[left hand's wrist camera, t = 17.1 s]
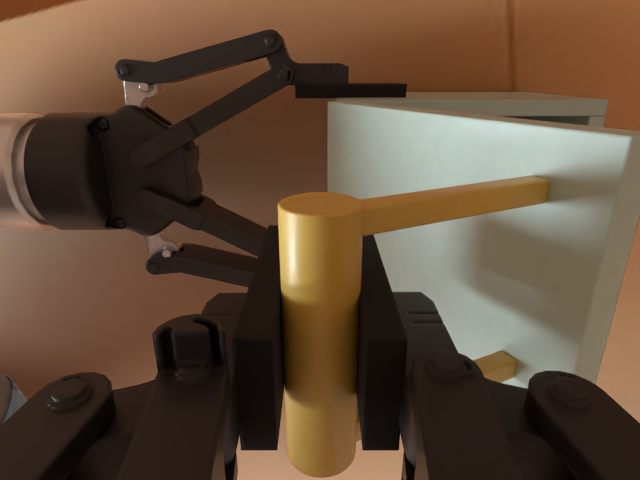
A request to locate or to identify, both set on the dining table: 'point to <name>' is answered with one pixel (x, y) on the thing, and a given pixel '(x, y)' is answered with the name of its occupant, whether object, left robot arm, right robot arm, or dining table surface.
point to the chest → (506, 105)
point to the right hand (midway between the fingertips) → (397, 171)
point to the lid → (452, 251)
